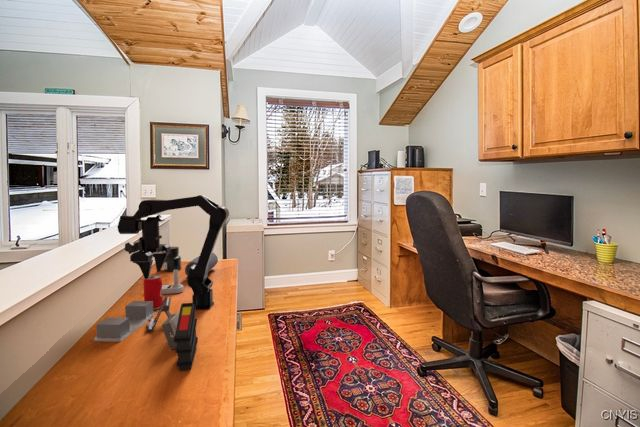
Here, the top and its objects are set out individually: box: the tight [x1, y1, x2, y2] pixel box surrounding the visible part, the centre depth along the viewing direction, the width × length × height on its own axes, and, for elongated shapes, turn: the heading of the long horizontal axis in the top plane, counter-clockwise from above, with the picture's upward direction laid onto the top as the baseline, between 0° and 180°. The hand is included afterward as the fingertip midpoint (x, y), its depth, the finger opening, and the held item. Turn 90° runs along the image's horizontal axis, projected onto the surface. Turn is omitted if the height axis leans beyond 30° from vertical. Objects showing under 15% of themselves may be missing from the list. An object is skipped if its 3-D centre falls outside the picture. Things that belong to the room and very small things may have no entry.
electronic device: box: [162, 270, 185, 295], centre depth 145 cm, size 5×10×15 cm
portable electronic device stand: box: [146, 296, 172, 334], centre depth 111 cm, size 9×8×8 cm
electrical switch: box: [161, 310, 180, 351], centre depth 99 cm, size 9×5×9 cm, turn 2°
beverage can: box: [143, 274, 164, 311], centre depth 127 cm, size 6×6×12 cm
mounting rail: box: [93, 310, 156, 343], centre depth 111 cm, size 8×21×1 cm, turn 0°
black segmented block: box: [174, 302, 199, 372], centre depth 90 cm, size 4×13×15 cm, turn 13°
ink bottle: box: [162, 246, 182, 272], centre depth 182 cm, size 10×9×12 cm
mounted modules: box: [95, 300, 154, 338], centre depth 111 cm, size 7×20×4 cm, turn 0°
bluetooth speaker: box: [184, 252, 219, 277], centre depth 172 cm, size 23×9×10 cm, turn 178°
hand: (152, 275), depth 126 cm, fingers open, 9 cm apart
